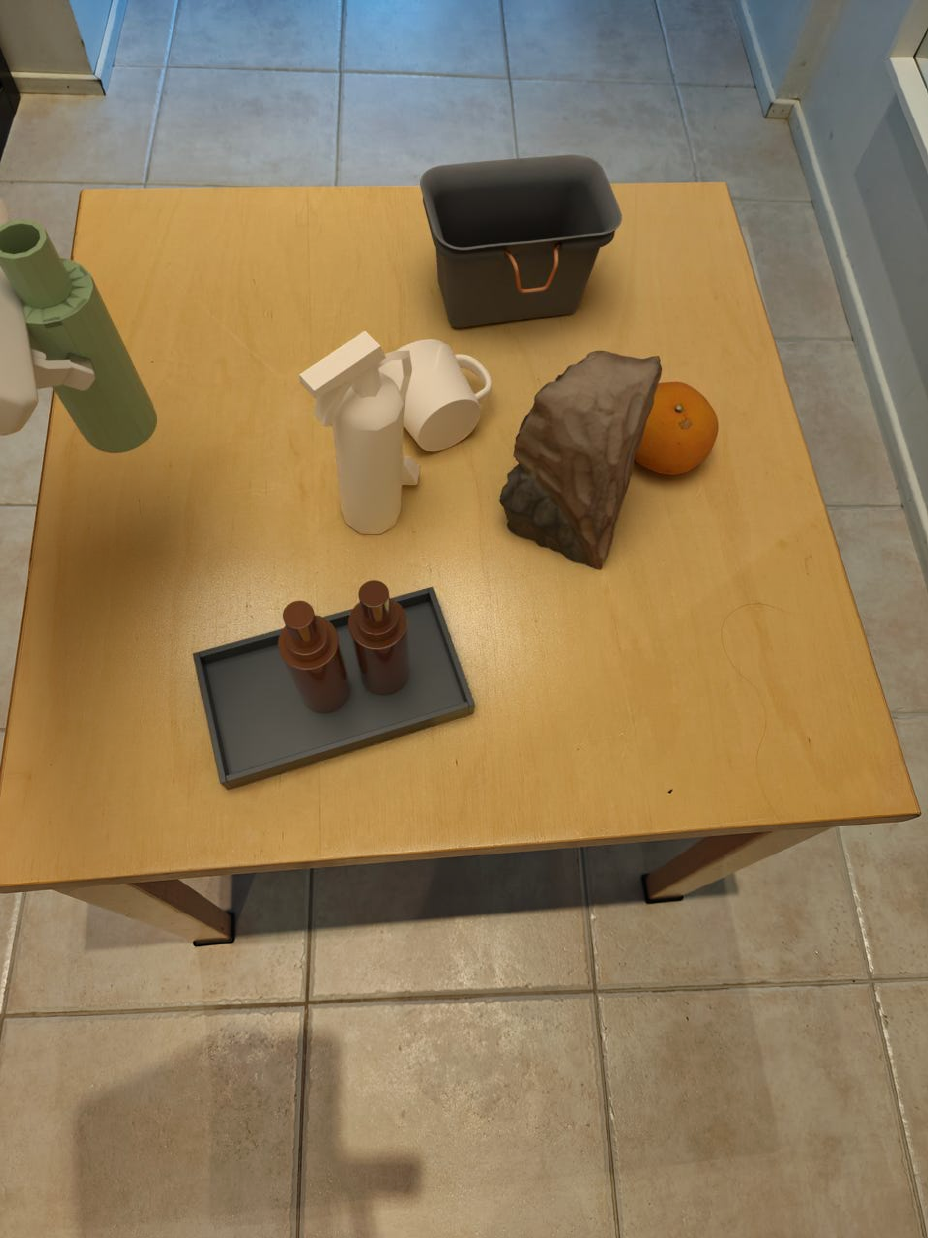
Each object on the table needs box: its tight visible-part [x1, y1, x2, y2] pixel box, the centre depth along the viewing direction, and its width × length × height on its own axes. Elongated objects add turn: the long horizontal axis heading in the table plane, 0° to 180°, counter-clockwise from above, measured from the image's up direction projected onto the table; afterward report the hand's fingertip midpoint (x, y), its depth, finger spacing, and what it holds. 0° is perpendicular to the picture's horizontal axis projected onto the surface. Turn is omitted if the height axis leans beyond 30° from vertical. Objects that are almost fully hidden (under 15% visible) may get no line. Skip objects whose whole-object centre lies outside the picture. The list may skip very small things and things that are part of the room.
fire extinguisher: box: [298, 330, 421, 535], centre depth 75 cm, size 7×12×25 cm, turn 129°
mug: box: [378, 338, 493, 452], centre depth 88 cm, size 12×9×8 cm
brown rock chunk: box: [498, 350, 663, 570], centre depth 78 cm, size 13×13×20 cm
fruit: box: [634, 381, 720, 476], centre depth 87 cm, size 10×10×8 cm
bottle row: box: [278, 579, 410, 713], centre depth 69 cm, size 11×5×18 cm, turn 109°
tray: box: [192, 586, 476, 791], centre depth 76 cm, size 24×13×3 cm, turn 109°
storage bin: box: [419, 154, 623, 328], centre depth 93 cm, size 21×16×14 cm
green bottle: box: [0, 218, 158, 454], centre depth 57 cm, size 6×6×18 cm
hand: (83, 337), depth 57 cm, fingers closed on green bottle, 6 cm apart
